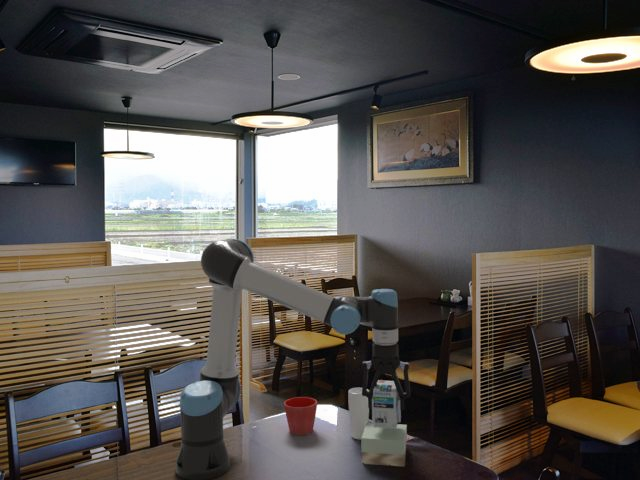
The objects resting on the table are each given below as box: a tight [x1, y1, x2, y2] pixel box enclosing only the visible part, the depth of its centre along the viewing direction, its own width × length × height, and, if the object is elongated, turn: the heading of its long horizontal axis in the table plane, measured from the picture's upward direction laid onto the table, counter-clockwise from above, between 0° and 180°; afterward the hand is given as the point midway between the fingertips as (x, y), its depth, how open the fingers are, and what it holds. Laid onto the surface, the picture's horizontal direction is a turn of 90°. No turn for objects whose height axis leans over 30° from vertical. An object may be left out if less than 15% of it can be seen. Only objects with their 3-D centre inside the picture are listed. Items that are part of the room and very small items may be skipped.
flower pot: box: [283, 396, 318, 436], centre depth 181 cm, size 11×11×10 cm
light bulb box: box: [373, 379, 399, 429], centre depth 161 cm, size 11×7×11 cm, turn 169°
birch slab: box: [361, 444, 407, 467], centre depth 162 cm, size 12×12×4 cm
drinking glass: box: [347, 387, 370, 440], centre depth 175 cm, size 7×7×15 cm
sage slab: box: [360, 421, 408, 455], centre depth 161 cm, size 12×12×4 cm
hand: (386, 419), depth 161 cm, fingers closed on light bulb box, 7 cm apart
